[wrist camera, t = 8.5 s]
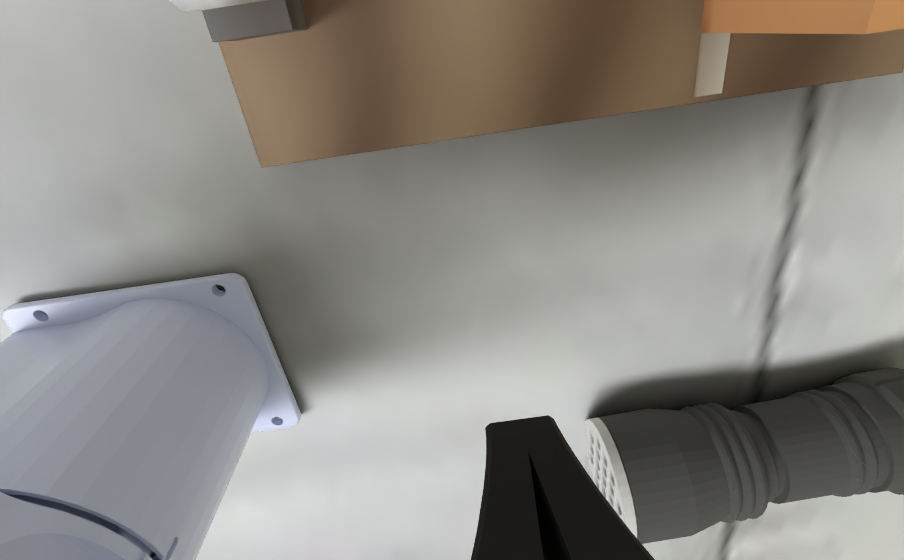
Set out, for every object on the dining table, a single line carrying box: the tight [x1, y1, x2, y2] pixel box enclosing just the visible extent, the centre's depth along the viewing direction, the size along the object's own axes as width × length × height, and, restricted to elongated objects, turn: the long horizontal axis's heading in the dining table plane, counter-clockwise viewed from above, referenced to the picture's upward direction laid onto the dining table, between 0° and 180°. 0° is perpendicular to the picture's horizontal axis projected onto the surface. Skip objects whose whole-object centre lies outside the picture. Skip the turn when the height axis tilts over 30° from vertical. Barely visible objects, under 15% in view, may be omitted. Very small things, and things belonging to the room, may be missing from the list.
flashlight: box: [585, 368, 904, 544], centre depth 21 cm, size 15×5×5 cm, turn 100°
